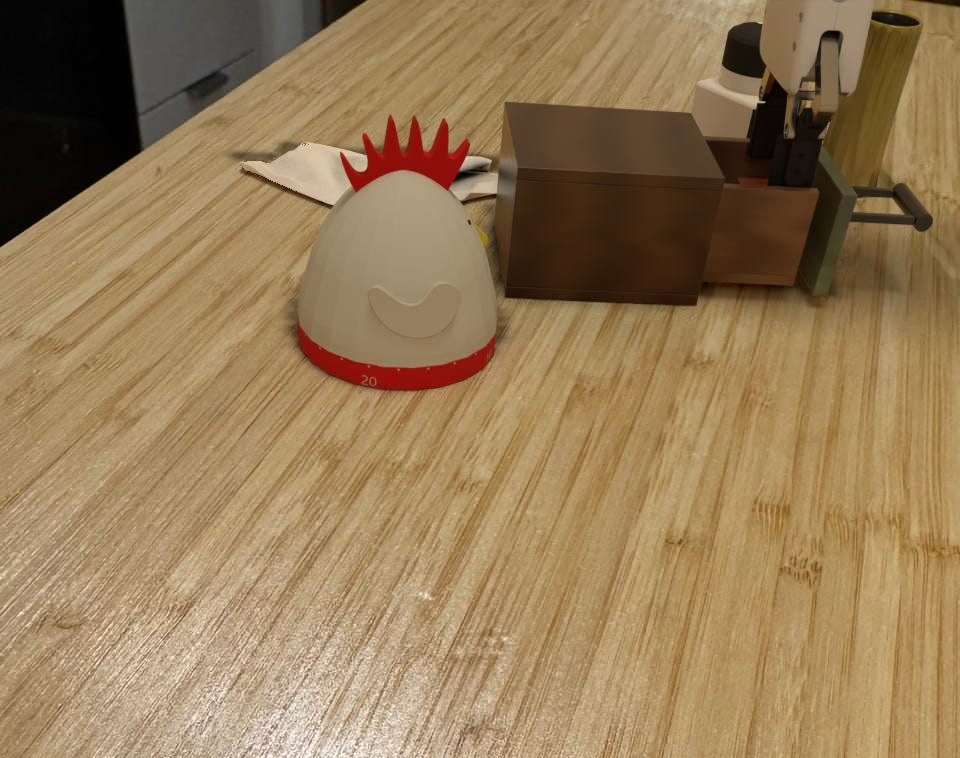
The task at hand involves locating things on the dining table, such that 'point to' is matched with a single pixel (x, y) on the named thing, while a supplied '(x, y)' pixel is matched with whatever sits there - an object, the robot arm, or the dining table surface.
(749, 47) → the medicine bottle
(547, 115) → the cabinet
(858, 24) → the robot arm
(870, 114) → the vase
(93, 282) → the dining table surface
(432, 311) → the kitchen timer
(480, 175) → the cloth
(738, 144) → the drawer
